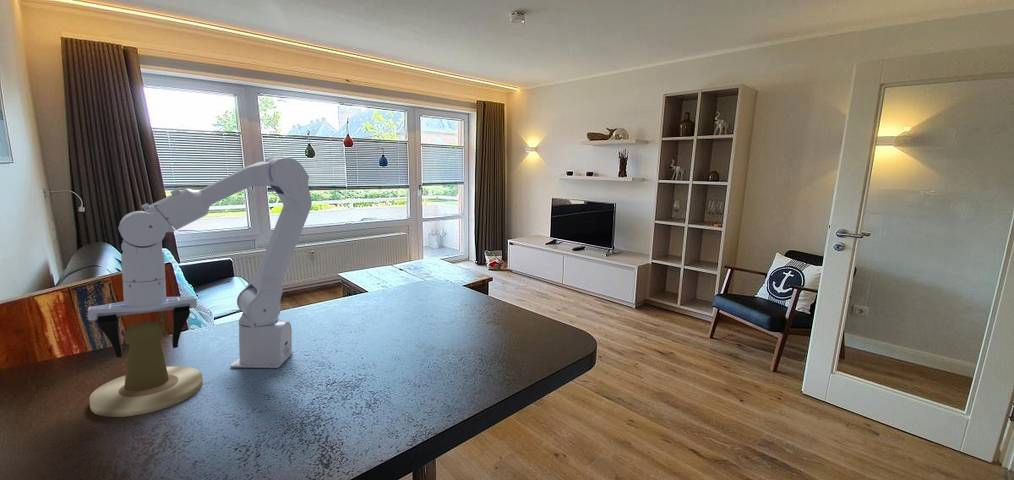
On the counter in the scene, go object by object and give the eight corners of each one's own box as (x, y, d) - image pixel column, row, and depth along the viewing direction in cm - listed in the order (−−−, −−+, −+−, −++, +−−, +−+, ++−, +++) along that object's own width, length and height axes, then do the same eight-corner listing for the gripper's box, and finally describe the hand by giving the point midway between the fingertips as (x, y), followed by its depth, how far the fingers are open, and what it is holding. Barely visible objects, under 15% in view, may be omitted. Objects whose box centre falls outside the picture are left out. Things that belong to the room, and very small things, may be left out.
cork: (145, 393, 70) (142, 331, 68) (114, 389, 70) (110, 328, 69) (177, 376, 76) (175, 320, 74) (148, 373, 76) (145, 317, 75)
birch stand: (219, 374, 81) (219, 366, 80) (166, 416, 66) (165, 408, 66) (136, 373, 79) (136, 365, 79) (62, 417, 64) (61, 407, 64)
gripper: (193, 270, 80) (195, 335, 82) (88, 277, 71) (93, 351, 72) (196, 278, 75) (199, 347, 77) (84, 287, 65) (90, 366, 67)
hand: (148, 350), depth 74 cm, fingers open, 7 cm apart
